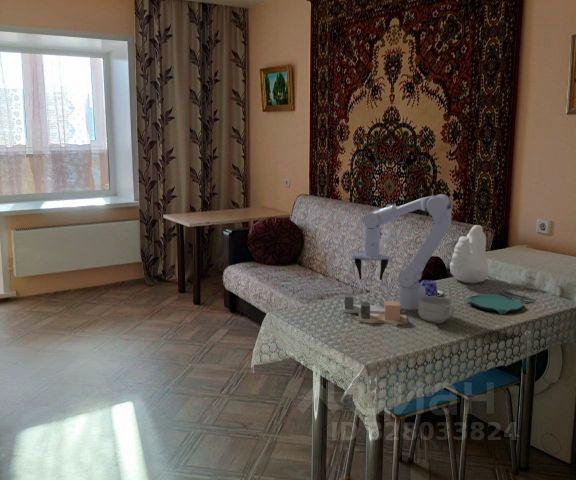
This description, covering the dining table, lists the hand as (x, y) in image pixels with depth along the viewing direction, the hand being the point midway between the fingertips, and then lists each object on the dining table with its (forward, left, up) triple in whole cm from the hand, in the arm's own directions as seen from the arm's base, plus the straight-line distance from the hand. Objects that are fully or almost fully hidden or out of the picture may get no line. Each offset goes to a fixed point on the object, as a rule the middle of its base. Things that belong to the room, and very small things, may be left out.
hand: (370, 279), depth 219 cm
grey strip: (+2, +13, -8) cm, 16 cm away
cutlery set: (-51, -6, -10) cm, 52 cm away
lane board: (+1, +18, -9) cm, 20 cm away
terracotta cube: (-6, +23, -7) cm, 25 cm away
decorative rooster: (-42, -37, -10) cm, 57 cm away
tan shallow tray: (-4, +23, -8) cm, 25 cm away
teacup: (-22, +20, -10) cm, 31 cm away
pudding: (-24, -17, -10) cm, 31 cm away
